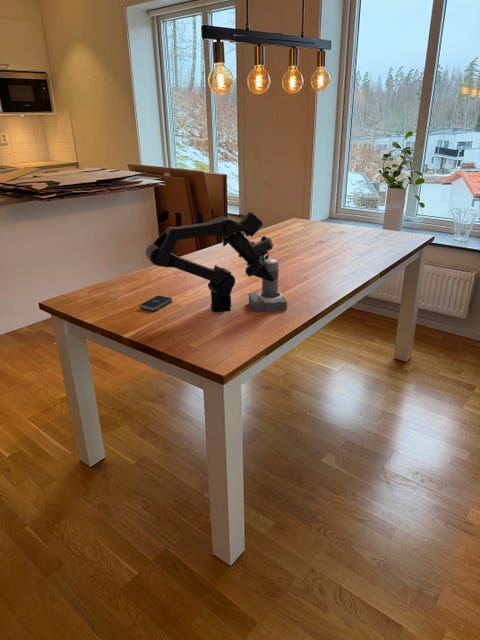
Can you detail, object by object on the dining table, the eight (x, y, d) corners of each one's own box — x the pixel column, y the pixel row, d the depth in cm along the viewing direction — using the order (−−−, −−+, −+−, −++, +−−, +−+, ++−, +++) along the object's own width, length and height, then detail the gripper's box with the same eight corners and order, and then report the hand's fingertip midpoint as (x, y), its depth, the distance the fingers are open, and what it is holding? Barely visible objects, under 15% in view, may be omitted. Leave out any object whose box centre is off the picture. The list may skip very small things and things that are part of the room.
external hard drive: (173, 303, 167) (172, 298, 166) (154, 313, 158) (153, 308, 157) (158, 300, 170) (158, 295, 169) (139, 310, 161) (138, 305, 160)
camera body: (253, 312, 156) (253, 300, 154) (249, 303, 164) (248, 291, 162) (286, 309, 158) (287, 297, 156) (280, 300, 166) (280, 289, 164)
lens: (263, 299, 156) (264, 263, 151) (260, 293, 161) (260, 259, 156) (279, 297, 157) (280, 262, 152) (275, 292, 162) (276, 258, 157)
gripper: (255, 237, 142) (288, 271, 145) (262, 224, 159) (292, 255, 161) (231, 259, 146) (264, 292, 149) (241, 245, 163) (270, 275, 166)
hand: (274, 278), depth 156 cm, fingers closed on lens, 6 cm apart
